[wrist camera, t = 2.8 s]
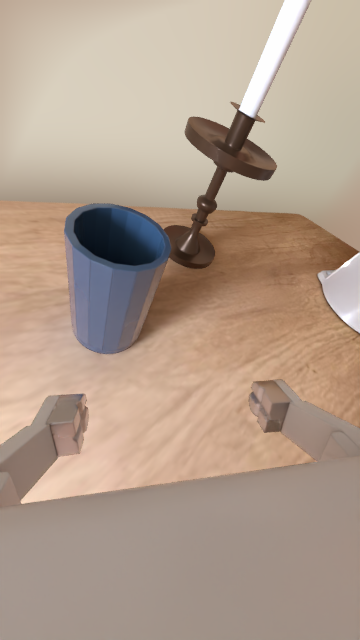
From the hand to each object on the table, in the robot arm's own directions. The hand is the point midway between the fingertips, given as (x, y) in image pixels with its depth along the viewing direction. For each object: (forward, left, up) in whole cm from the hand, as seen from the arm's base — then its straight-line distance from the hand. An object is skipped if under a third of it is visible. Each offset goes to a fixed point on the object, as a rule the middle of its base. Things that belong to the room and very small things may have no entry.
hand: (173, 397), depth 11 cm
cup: (-2, -10, -10) cm, 14 cm away
